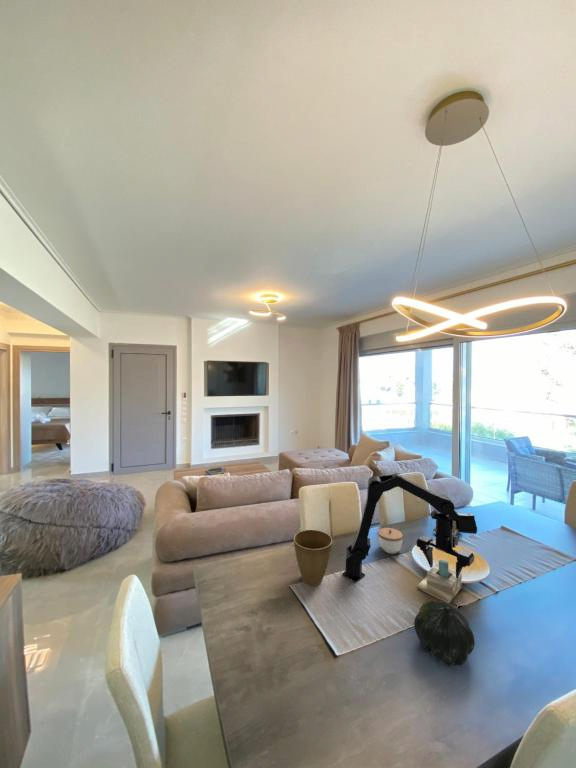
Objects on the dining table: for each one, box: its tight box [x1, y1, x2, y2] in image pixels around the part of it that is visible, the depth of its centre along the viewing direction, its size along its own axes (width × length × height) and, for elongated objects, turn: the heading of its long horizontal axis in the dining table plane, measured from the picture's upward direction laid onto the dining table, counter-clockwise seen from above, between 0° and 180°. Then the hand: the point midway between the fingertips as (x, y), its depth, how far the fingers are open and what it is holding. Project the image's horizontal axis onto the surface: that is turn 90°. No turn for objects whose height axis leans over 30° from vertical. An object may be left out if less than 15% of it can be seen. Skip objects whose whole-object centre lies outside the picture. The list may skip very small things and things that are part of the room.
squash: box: [413, 600, 476, 667], centre depth 88 cm, size 14×15×15 cm
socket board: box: [416, 563, 463, 604], centre depth 115 cm, size 12×11×5 cm
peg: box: [438, 559, 449, 579], centre depth 116 cm, size 3×3×8 cm
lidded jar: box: [377, 527, 404, 555], centre depth 142 cm, size 11×11×9 cm
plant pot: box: [293, 529, 333, 586], centre depth 120 cm, size 15×15×16 cm
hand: (444, 572), depth 116 cm, fingers open, 9 cm apart
